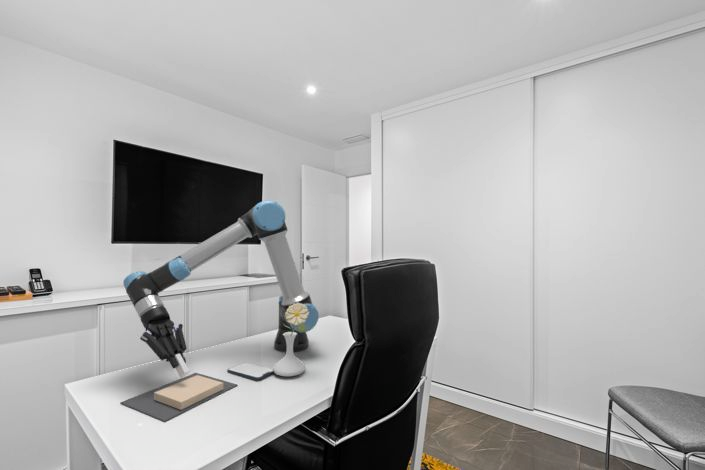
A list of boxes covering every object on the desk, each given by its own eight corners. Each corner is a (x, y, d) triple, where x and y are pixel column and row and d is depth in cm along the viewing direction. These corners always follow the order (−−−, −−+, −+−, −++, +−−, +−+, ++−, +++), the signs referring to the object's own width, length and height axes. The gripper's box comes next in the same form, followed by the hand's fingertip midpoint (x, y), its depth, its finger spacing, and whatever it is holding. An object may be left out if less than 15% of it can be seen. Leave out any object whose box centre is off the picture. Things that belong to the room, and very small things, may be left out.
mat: (195, 373, 112) (195, 372, 112) (237, 385, 103) (237, 384, 103) (120, 403, 91) (120, 402, 91) (164, 422, 82) (164, 420, 82)
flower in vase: (266, 376, 111) (267, 303, 111) (284, 365, 121) (285, 298, 122) (299, 382, 106) (301, 306, 107) (315, 370, 117) (316, 301, 118)
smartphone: (225, 374, 114) (258, 383, 106) (225, 369, 114) (258, 378, 106) (245, 366, 122) (276, 374, 114) (245, 361, 122) (276, 369, 114)
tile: (197, 375, 105) (223, 382, 99) (197, 382, 105) (223, 390, 99) (154, 392, 92) (181, 402, 87) (153, 400, 92) (181, 411, 87)
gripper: (166, 316, 112) (197, 374, 104) (126, 324, 100) (157, 390, 92) (177, 302, 110) (209, 360, 102) (136, 309, 98) (170, 375, 90)
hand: (184, 374), depth 97 cm, fingers closed
